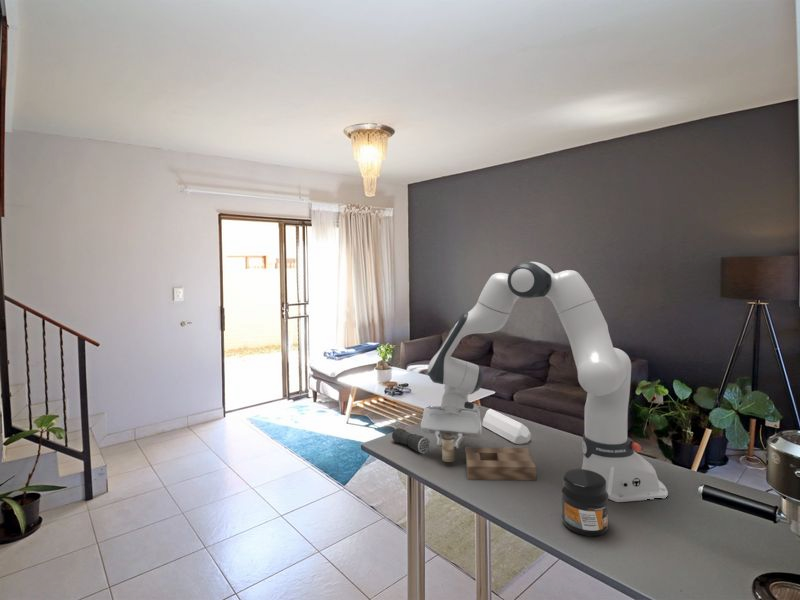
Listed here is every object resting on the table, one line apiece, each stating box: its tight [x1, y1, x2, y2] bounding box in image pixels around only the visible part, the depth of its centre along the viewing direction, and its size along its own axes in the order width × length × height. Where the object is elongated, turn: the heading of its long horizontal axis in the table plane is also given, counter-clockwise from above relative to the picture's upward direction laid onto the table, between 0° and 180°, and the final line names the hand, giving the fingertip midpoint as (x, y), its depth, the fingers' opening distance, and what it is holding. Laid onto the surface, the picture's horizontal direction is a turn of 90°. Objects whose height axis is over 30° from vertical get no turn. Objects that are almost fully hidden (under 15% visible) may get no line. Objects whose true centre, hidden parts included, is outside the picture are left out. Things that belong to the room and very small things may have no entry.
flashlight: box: [391, 427, 431, 454], centre depth 156 cm, size 15×5×5 cm, turn 40°
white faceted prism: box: [481, 408, 532, 445], centre depth 165 cm, size 7×7×24 cm
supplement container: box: [560, 468, 610, 537], centre depth 105 cm, size 10×10×12 cm
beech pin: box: [440, 433, 456, 463], centre depth 140 cm, size 4×4×8 cm
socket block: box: [464, 446, 537, 481], centre depth 136 cm, size 20×14×4 cm
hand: (447, 446), depth 140 cm, fingers closed on beech pin, 4 cm apart
